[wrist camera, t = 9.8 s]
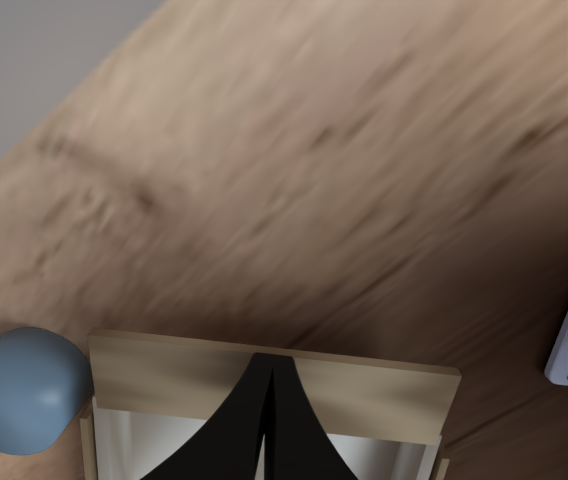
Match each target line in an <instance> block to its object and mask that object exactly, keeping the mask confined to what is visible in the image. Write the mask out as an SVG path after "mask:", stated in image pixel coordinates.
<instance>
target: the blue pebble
mask: <svg viewBox="0 0 568 480" xmlns="http://www.w3.org/2000/svg"><path fill="white" fill-rule="evenodd" d="M92 388H93V376H92V370H91V368H90V365H89V363H88V361H87V359H86V358H85V356H84V355H83V354H82V352H81V351H80V350H79V349H78V348H77V347H76V346H75V345H74V344H72V343H71V342H70V341H69V340H67V339H65V338H64V337H62V336H60V335H58V334H56V333H54V332H51V331H48V330H44V329H40V328H19V329H15V330H12V331H9V332H7V333H5V334H4V335H2V336H1V337H0V452H1V453H5V454H11V455H30V454H35V453H38V452H41V451H43V450H45V449H47V448H48V447H50V446H51V445H52V444H53V443H54V442H55V441H56V440H57V438H58V437H59V436H60V434H61V433H62V432H63V431H64V429H65V428H66V427H67V425H68V424H69V423H70V422H71V420H72V419H73V418H74V416H75V415H76V414H77V412H78V411H79V410H80V409H81V407H82V406H83V405H84V403H85V402H86V401H87V399H88V398H89V396H90V394H91V391H92Z"/></svg>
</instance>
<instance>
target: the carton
mask: <svg viewBox="0 0 568 480" xmlns="http://www.w3.org/2000/svg"><path fill="white" fill-rule="evenodd" d="M92 400H93V401H92V402H91V403H90V405H89V406H88V407H87V409H86V410H85V411H84V413H83V414H82V415H81V417H80V418H79V419H80V430H81V441H82V452H83V463H84V474H85V480H140V479H141V478H142V477H144V476H145V475H146V474H148V473H149V472H150V471H152V470H153V469H154V468H155V467H157V466H158V465H159V464H160V463H162V462H163V461H164V460H166V459H167V458H168V457H169V456H171V455H172V454H173V453H174V452H175V451H176V450H178V449H179V448H180V447H181V446H182V445H183V444H184V443H185V442H186V441H187V440H188V439H190V438H191V437H192V436H193V435H194V434H195V433H196V432H197V431H198V430H199V429H200V428H201V427H202V426H203V425H204V424H205V423H206V421H207V420H201V419H192V418H183V417H174V416H165V415H156V414H147V413H138V412H129V411H120V410H111V409H102V408H97V404H96V397H95V394H94V395H93V397H92ZM326 434H327V433H326ZM327 436H328V437H329V439H330V441H331V442H332V444H333V445H334V447H335V448H336V450H337V451H338V453H339V454H340V456H341V457H342V459H343V460H344V461H345V463H346V464H347V466H348V467H349V468H350V469H351V471H352V472H353V473H354V474H355V476H356V477H357V478H358V479H359V480H443V479H444V476H445V473H446V470H447V467H448V464H449V461H450V459H449V456H448V454H447V452H446V450H445V448H444V445H443V443H442V441H441V438H442V434H441V432H440V435H439V437H438V440H437V442H436V445H426V444H417V443H408V442H399V441H390V440H381V439H372V438H363V437H354V436H345V435H336V434H327ZM255 480H264V437H263V442H262V447H261V452H260V457H259V462H258V467H257V472H256V477H255Z"/></svg>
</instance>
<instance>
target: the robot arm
mask: <svg viewBox="0 0 568 480" xmlns="http://www.w3.org/2000/svg"><path fill="white" fill-rule="evenodd" d="M544 373H545V376H546V377H547V378H548V379H549V380H550V381H551V382H552V383H554V384H558V385H567V386H568V312H567V315H566V317H565V320H564V322H563V325H562V327H561V330H560V332H559V335H558V337H557V340H556V342H555V345H554V347H553V350H552V353H551V355H550V358H549V360H548V363H547V365H546V368H545V372H544ZM263 437H264V480H359V479H358V478H357V477H356V476H355V474H354V473H353V472H352V471H351V469H350V468H349V467H348V466H347V464H346V463H345V461H344V460H343V459H342V457H341V456H340V454H339V453H338V451H337V450H336V448H335V447H334V445H333V444H332V442H331V441H330V439H329V437H328V436H327V434H326V432H325V431H324V429H323V427H322V425H321V424H320V422H319V420H318V418H317V416H316V414H315V412H314V410H313V408H312V406H311V404H310V402H309V400H308V397H307V395H306V393H305V391H304V388H303V386H302V383H301V380H300V377H299V375H298V372H297V368H296V364H295V360H294V358H293V357H292V356H285V355H276V354H268V353H260V352H255V353H254V354H253V355H252V357H251V360H250V362H249V364H248V366H247V368H246V369H245V371H244V373H243V374H242V376H241V378H240V379H239V381H238V382H237V384H236V385H235V387H234V388H233V389H232V391H231V392H230V394H229V395H228V396H227V397H226V399H225V400H224V401H223V403H222V404H221V405H220V406H219V408H218V409H217V410H216V411H215V412H214V414H213V415H212V416H211V417H210V418H209V419H208V420H207V421H206V423H205V424H204V425H203V426H202V427H201V428H200V429H199V430H198V431H197V432H196V433H195V434H194V435H193V436H192V437H191V438H190V439H188V440H187V441H186V442H185V443H184V444H183V445H182V446H181V447H180V448H179V449H178V450H176V451H175V452H174V453H173V454H172V455H171V456H169V457H168V458H167V459H166V460H164V461H163V462H162V463H160V464H159V465H158V466H157V467H155V468H154V469H153V470H152V471H150V472H149V473H148V474H146V475H145V476H144V477H142V478H141V479H140V480H255V477H256V472H257V467H258V462H259V457H260V452H261V447H262V442H263Z"/></svg>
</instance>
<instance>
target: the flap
mask: <svg viewBox="0 0 568 480" xmlns="http://www.w3.org/2000/svg"><path fill="white" fill-rule="evenodd" d="M87 340H88V348H89V355H90V362H91V369H92V376H93V383H94V390H95V397H96V404H97V408H102V409H111V410H120V411H129V412H138V413H147V414H156V415H165V416H174V417H183V418H192V419H201V420H208V419H209V418H210V417H211V416H212V415H213V414H214V412H215V411H216V410H217V409H218V408H219V406H220V405H221V404H222V403H223V401H224V400H225V399H226V397H227V396H228V395H229V394H230V392H231V391H232V389H233V388H234V387H235V385H236V384H237V382H238V381H239V379H240V378H241V376H242V374H243V373H244V371H245V369H246V368H247V366H248V364H249V362H250V360H251V357H252V355H253V354H254V353H255V352H260V353H268V354H276V355H285V356H292V357H293V358H294V360H295V364H296V368H297V372H298V375H299V377H300V380H301V383H302V386H303V388H304V391H305V393H306V395H307V397H308V400H309V402H310V404H311V406H312V408H313V410H314V412H315V414H316V416H317V418H318V420H319V422H320V424H321V425H322V427H323V429H324V431H325V432H326V433H327V434H336V435H345V436H354V437H363V438H372V439H381V440H390V441H399V442H408V443H417V444H426V445H436V442H437V440H438V437H439V435H440V432H441V429H442V427H443V424H444V422H445V419H446V417H447V414H448V411H449V409H450V406H451V404H452V401H453V398H454V396H455V393H456V391H457V388H458V386H459V383H460V380H461V378H462V375H461V374H460V372H459V370H458V368H454V367H445V366H436V365H427V364H418V363H409V362H400V361H391V360H382V359H373V358H364V357H355V356H346V355H337V354H328V353H319V352H310V351H301V350H292V349H283V348H274V347H265V346H256V345H247V344H238V343H229V342H219V341H210V340H201V339H192V338H183V337H174V336H165V335H156V334H147V333H138V332H129V331H120V330H111V329H102V328H92V329H91V330H90V331H89V333H88V334H87Z"/></svg>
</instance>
